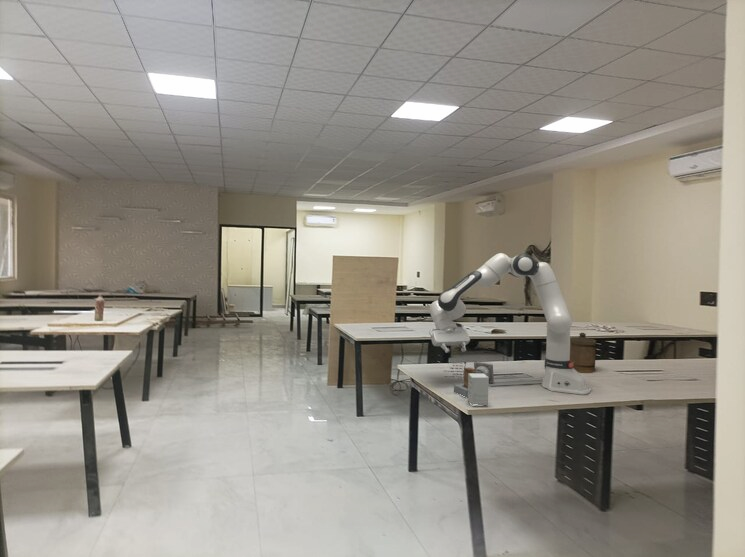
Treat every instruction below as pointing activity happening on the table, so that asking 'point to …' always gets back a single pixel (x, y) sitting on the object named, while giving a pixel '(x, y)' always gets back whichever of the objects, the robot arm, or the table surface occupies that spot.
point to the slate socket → (461, 390)
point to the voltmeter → (479, 370)
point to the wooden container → (583, 353)
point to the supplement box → (478, 388)
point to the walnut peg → (466, 371)
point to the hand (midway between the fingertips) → (456, 351)
